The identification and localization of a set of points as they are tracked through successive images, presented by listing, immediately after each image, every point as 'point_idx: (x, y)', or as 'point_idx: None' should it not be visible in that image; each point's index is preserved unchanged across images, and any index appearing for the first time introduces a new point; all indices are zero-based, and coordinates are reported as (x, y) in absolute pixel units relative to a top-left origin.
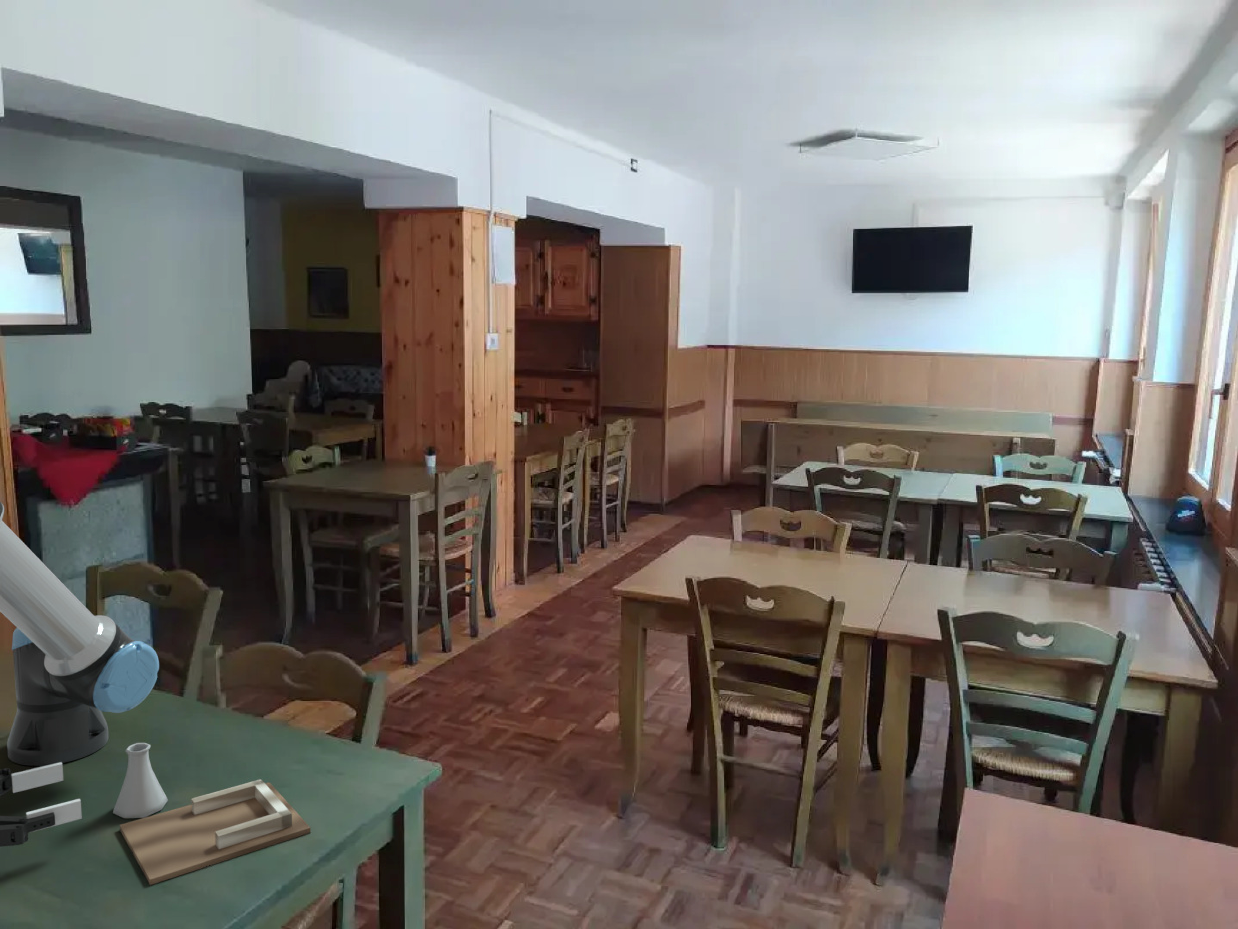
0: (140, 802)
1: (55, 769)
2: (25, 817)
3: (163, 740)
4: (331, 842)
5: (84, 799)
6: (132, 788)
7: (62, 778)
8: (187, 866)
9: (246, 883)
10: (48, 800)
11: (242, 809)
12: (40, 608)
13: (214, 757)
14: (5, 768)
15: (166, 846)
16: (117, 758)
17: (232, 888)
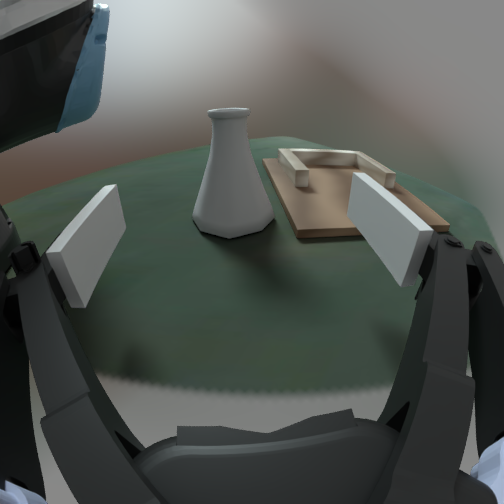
0: (265, 196)
1: (112, 201)
2: (443, 235)
3: (68, 203)
4: None
5: (133, 264)
6: (251, 178)
7: (123, 223)
8: (424, 204)
9: (437, 194)
10: None
11: (312, 170)
12: None
13: (154, 179)
14: (13, 249)
15: None
16: (57, 230)
17: (444, 200)
